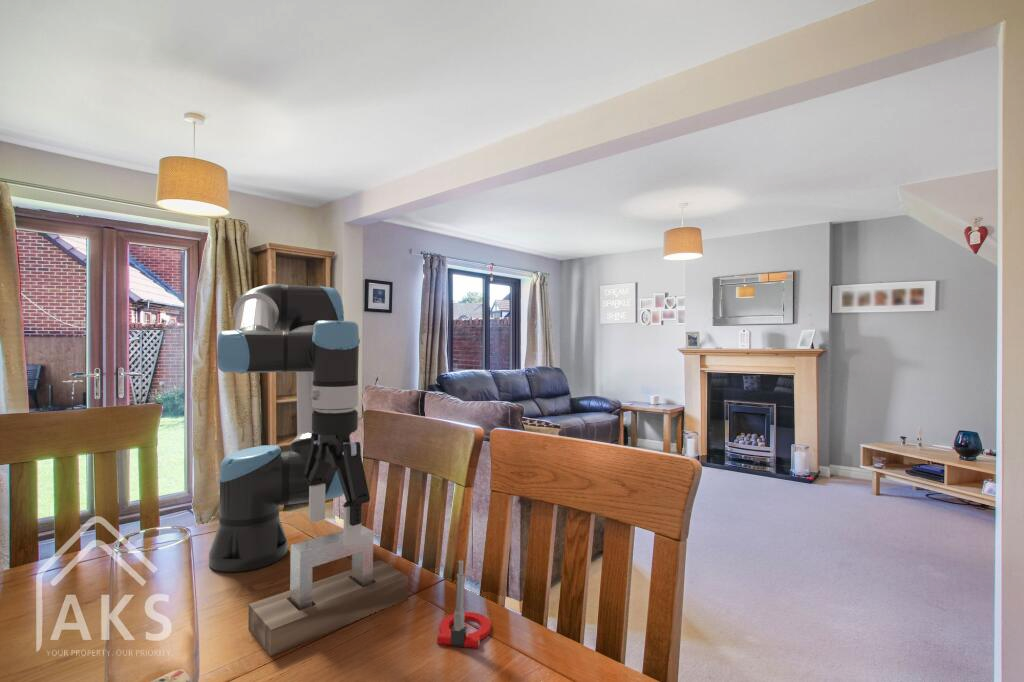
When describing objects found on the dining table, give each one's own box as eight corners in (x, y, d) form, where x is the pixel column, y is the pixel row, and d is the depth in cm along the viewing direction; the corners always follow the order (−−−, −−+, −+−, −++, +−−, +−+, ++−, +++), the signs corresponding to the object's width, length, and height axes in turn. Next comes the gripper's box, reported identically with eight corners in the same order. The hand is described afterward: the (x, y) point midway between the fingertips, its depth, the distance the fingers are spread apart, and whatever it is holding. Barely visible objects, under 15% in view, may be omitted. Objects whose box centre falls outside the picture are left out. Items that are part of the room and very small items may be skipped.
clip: (289, 623, 82) (290, 545, 82) (361, 595, 92) (362, 525, 92) (299, 633, 79) (300, 552, 80) (372, 603, 89) (373, 531, 89)
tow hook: (447, 616, 86) (430, 645, 77) (449, 540, 86) (433, 561, 77) (494, 621, 84) (483, 651, 75) (496, 544, 85) (486, 565, 76)
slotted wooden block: (248, 628, 81) (248, 604, 81) (380, 580, 98) (380, 559, 98) (270, 656, 73) (270, 629, 73) (408, 598, 90) (408, 577, 90)
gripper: (285, 403, 92) (284, 517, 92) (348, 421, 74) (346, 561, 74) (324, 400, 97) (323, 507, 97) (392, 416, 80) (390, 547, 80)
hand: (333, 531), depth 86 cm, fingers open, 13 cm apart
